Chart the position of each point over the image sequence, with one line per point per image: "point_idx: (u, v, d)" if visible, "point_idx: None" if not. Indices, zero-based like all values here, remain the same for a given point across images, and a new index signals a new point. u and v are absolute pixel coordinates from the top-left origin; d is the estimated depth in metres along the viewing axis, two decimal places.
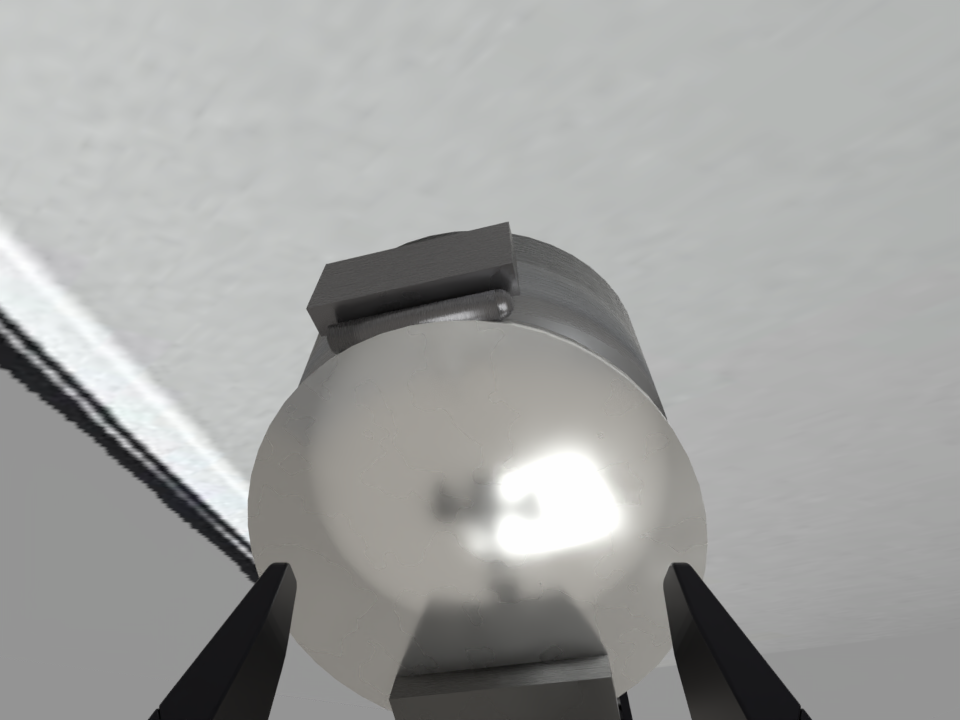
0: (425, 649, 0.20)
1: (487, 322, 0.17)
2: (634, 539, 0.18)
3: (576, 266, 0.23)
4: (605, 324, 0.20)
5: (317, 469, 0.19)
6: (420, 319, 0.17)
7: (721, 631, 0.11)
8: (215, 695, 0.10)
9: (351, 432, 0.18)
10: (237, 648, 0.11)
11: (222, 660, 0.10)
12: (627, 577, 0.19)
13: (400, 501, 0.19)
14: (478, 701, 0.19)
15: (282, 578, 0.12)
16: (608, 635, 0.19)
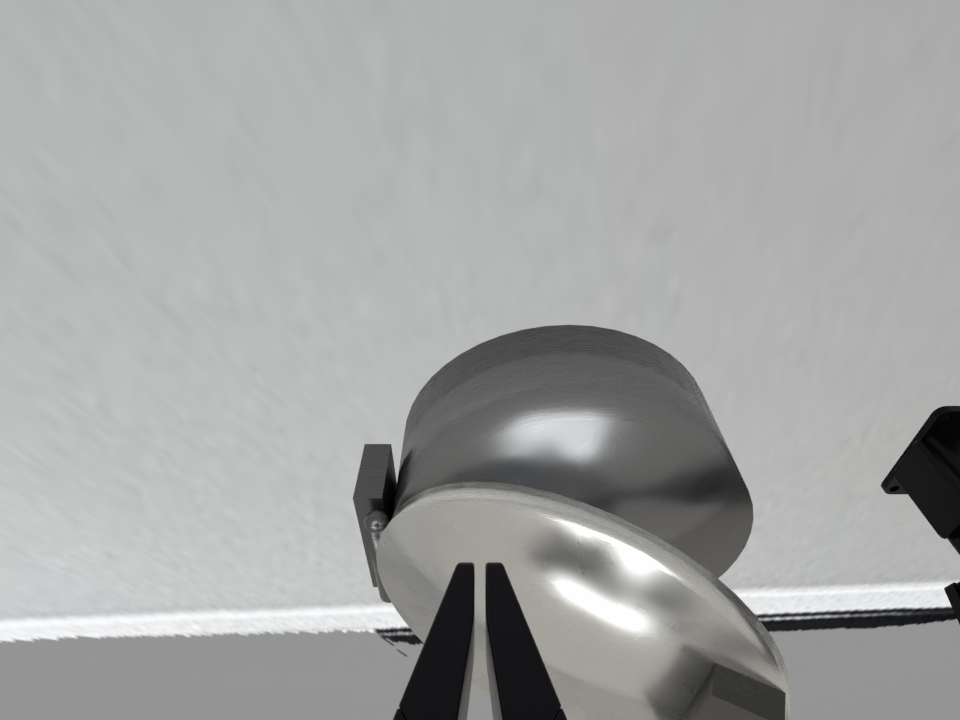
0: None
1: (379, 540, 0.22)
2: (584, 578, 0.17)
3: (444, 377, 0.25)
4: (454, 425, 0.22)
5: None
6: (374, 563, 0.24)
7: (508, 631, 0.11)
8: (451, 695, 0.10)
9: None
10: (453, 648, 0.11)
11: (446, 660, 0.10)
12: (625, 604, 0.17)
13: None
14: None
15: (473, 578, 0.12)
16: (691, 649, 0.17)
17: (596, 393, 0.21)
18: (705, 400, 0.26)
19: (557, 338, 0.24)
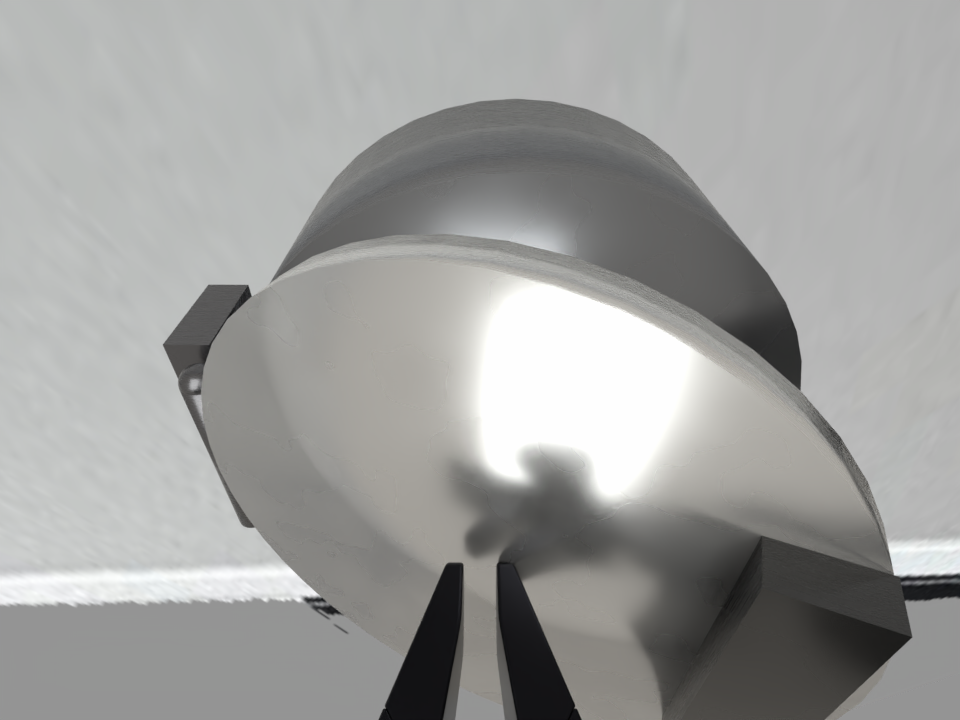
0: (630, 674, 0.14)
1: (203, 409, 0.14)
2: (515, 397, 0.09)
3: (330, 186, 0.17)
4: (319, 221, 0.14)
5: (369, 602, 0.17)
6: (211, 458, 0.15)
7: (521, 631, 0.11)
8: (437, 695, 0.10)
9: (330, 562, 0.16)
10: (440, 648, 0.11)
11: (432, 660, 0.10)
12: (593, 438, 0.09)
13: (410, 577, 0.15)
14: (712, 716, 0.11)
15: (462, 578, 0.12)
16: (715, 514, 0.09)
17: (545, 150, 0.12)
18: None
19: (495, 109, 0.15)
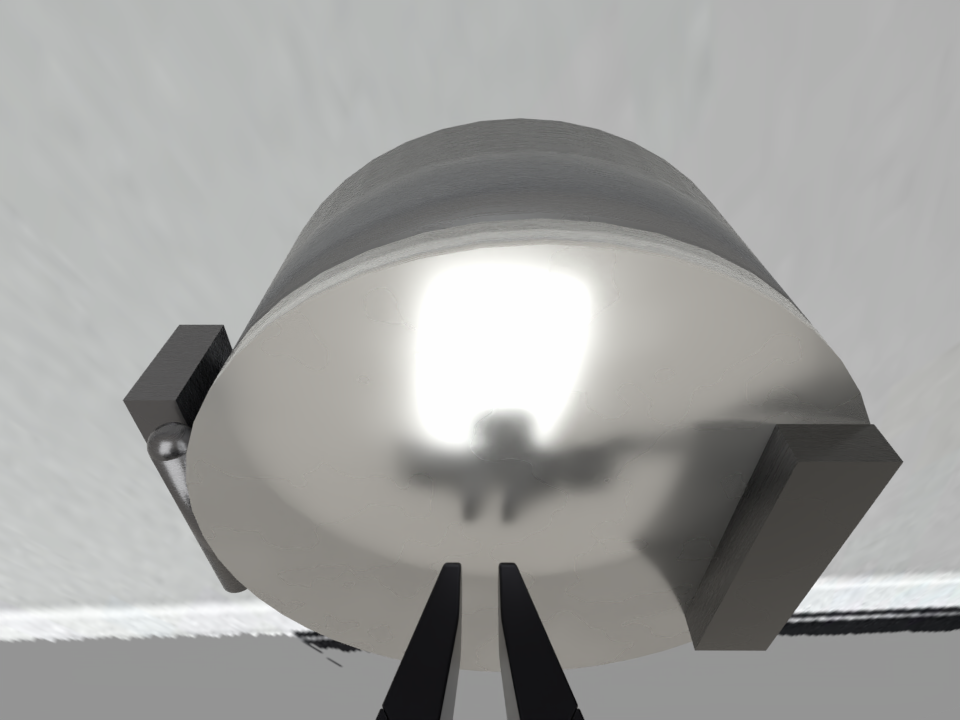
0: (658, 589, 0.15)
1: (187, 472, 0.12)
2: (568, 361, 0.10)
3: (315, 215, 0.15)
4: (298, 261, 0.12)
5: (390, 622, 0.17)
6: (194, 526, 0.14)
7: (523, 631, 0.11)
8: (434, 695, 0.10)
9: (345, 595, 0.16)
10: (437, 649, 0.11)
11: (430, 660, 0.10)
12: (639, 380, 0.10)
13: None
14: (746, 590, 0.13)
15: (460, 578, 0.12)
16: (740, 417, 0.11)
17: (556, 183, 0.11)
18: None
19: (498, 131, 0.14)
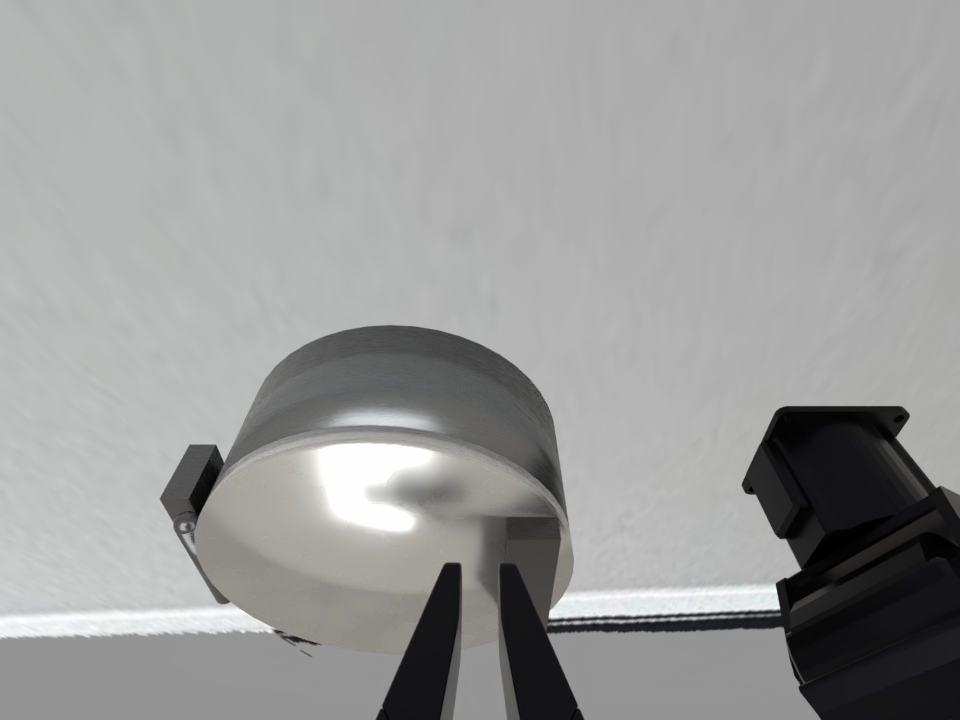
0: (479, 602, 0.25)
1: (195, 539, 0.22)
2: (388, 490, 0.20)
3: (271, 377, 0.25)
4: (256, 425, 0.22)
5: (320, 622, 0.27)
6: (198, 567, 0.24)
7: (523, 631, 0.11)
8: (434, 695, 0.10)
9: (290, 605, 0.26)
10: (437, 649, 0.11)
11: (430, 660, 0.10)
12: (427, 497, 0.20)
13: (346, 595, 0.25)
14: None
15: (460, 578, 0.12)
16: (486, 514, 0.21)
17: (387, 393, 0.21)
18: (537, 400, 0.26)
19: (373, 339, 0.24)
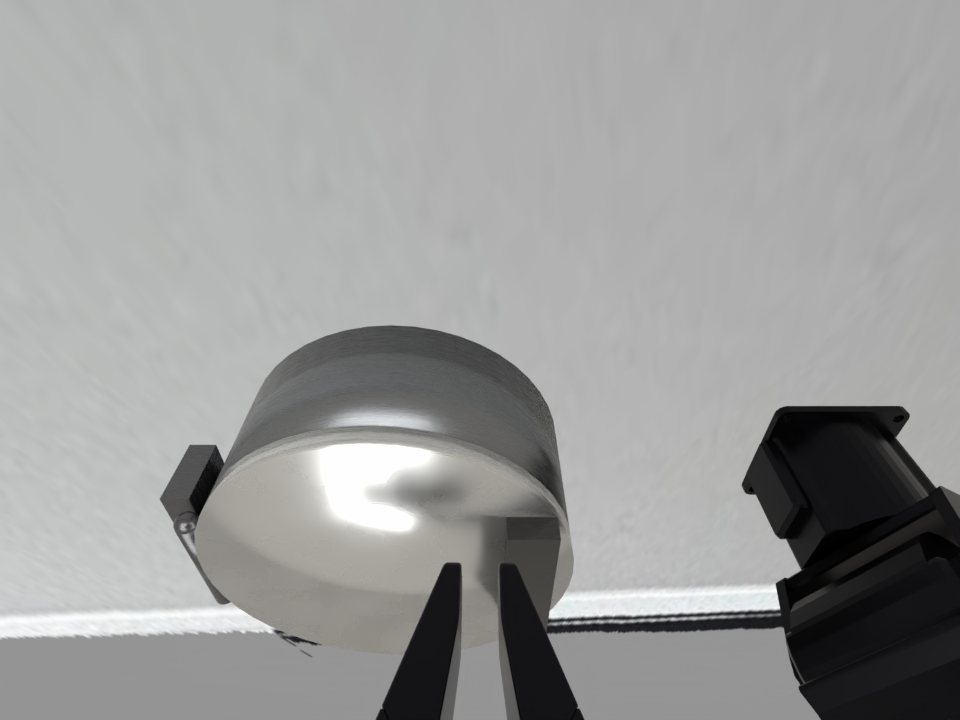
0: (479, 602, 0.25)
1: (195, 539, 0.22)
2: (388, 490, 0.20)
3: (271, 377, 0.25)
4: (255, 426, 0.22)
5: (320, 622, 0.27)
6: (198, 567, 0.24)
7: (523, 631, 0.11)
8: (434, 695, 0.10)
9: (290, 605, 0.26)
10: (437, 648, 0.11)
11: (430, 660, 0.10)
12: (426, 498, 0.20)
13: (346, 595, 0.25)
14: None
15: (460, 578, 0.12)
16: (486, 514, 0.21)
17: (387, 394, 0.21)
18: (537, 400, 0.26)
19: (373, 339, 0.24)
